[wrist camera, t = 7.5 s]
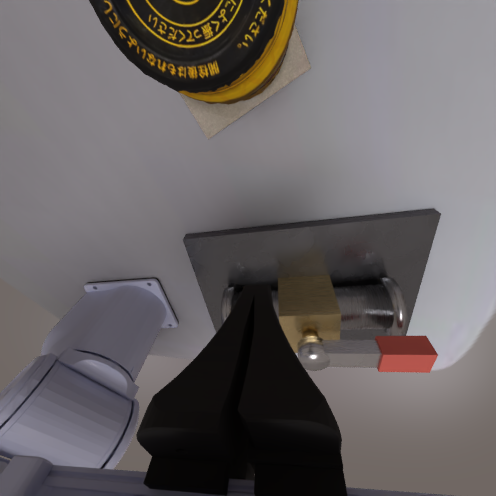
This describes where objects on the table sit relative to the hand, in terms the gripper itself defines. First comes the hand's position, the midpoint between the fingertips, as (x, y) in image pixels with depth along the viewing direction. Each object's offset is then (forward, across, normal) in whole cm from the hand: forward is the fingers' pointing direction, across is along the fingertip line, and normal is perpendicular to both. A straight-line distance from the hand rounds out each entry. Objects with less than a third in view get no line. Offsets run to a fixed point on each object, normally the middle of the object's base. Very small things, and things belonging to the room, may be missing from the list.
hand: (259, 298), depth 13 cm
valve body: (+10, -3, +9) cm, 14 cm away
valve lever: (+3, -7, +9) cm, 12 cm away
